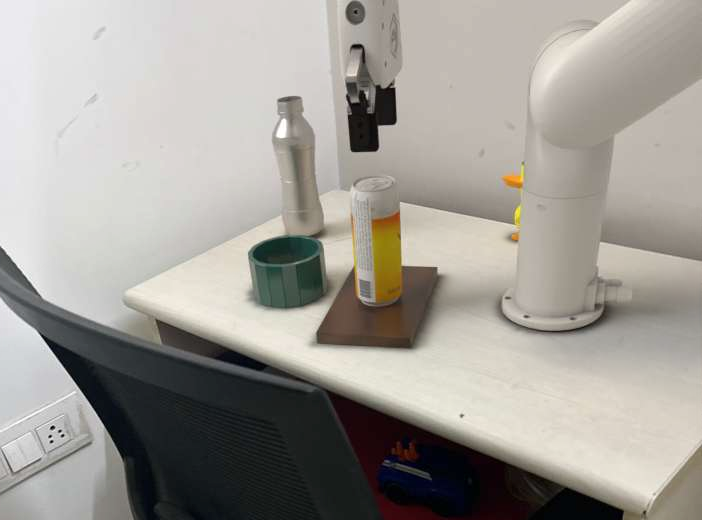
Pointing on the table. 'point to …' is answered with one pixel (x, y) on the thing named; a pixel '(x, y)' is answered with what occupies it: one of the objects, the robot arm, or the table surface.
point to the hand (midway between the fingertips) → (374, 137)
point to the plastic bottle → (297, 168)
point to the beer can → (376, 239)
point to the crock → (288, 271)
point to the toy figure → (517, 183)
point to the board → (379, 313)
